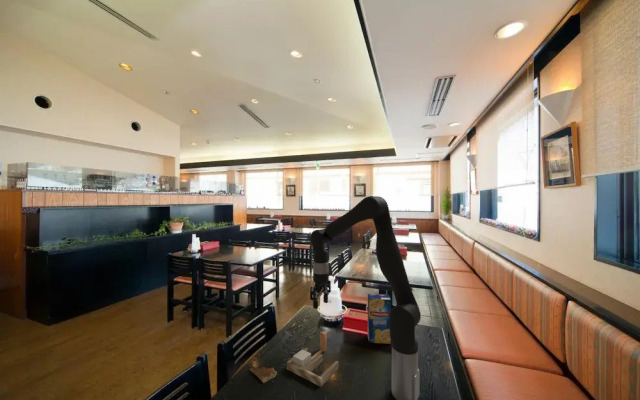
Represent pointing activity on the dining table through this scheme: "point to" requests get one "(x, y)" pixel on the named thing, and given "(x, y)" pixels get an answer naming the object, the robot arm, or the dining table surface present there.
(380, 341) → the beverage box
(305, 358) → the corded block
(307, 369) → the birch lanes
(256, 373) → the shard
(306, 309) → the dining table surface
